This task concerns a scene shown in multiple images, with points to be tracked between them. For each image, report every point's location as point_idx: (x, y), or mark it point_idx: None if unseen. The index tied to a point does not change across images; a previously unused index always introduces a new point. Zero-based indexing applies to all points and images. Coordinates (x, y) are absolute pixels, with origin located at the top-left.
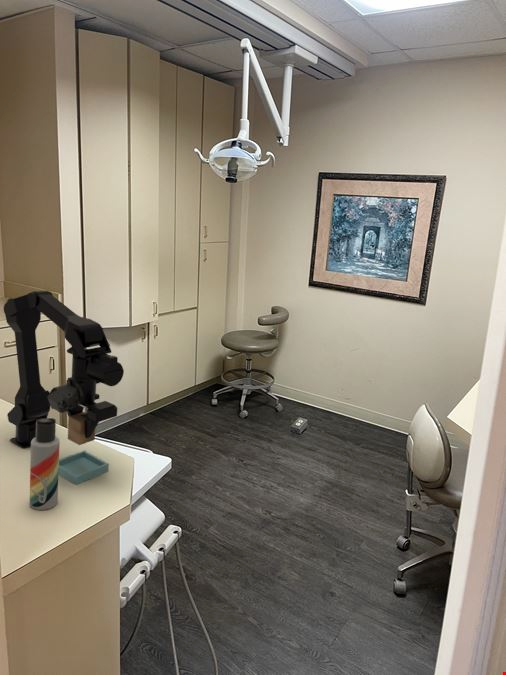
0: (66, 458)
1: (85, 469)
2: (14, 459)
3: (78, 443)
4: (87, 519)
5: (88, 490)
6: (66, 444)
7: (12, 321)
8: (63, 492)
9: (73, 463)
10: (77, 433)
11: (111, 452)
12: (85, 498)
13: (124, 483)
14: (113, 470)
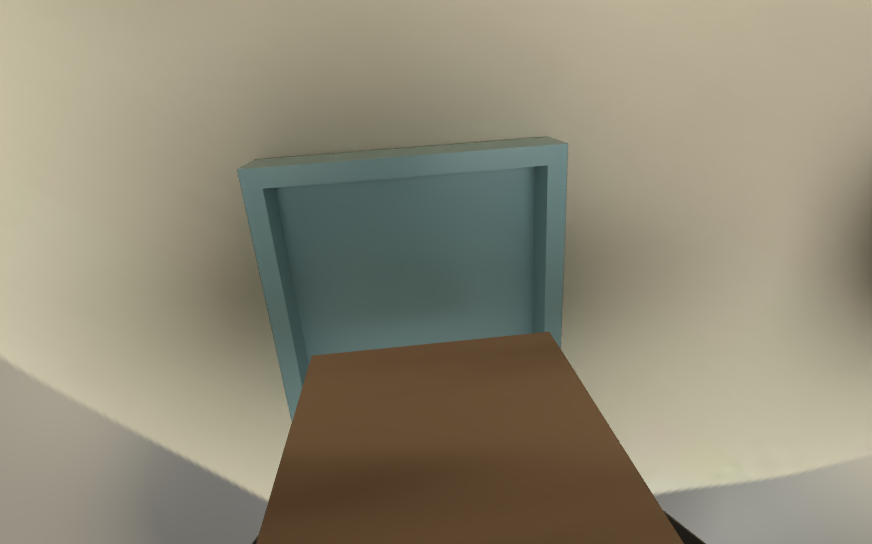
0: (545, 265)
1: (380, 306)
2: (863, 4)
3: (328, 364)
4: None
5: (138, 188)
6: (747, 379)
7: None
8: (202, 28)
9: (500, 287)
10: (345, 458)
11: None
12: (37, 111)
13: (111, 402)
14: None
